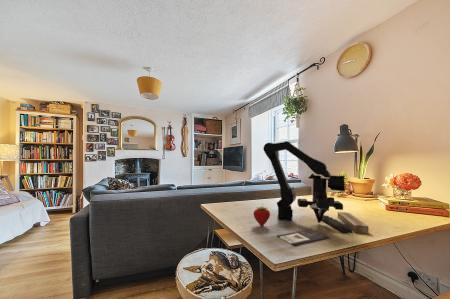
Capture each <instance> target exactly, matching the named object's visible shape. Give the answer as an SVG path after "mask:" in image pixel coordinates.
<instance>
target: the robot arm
mask: <svg viewBox="0 0 450 299" xmlns="http://www.w3.org/2000/svg"><path fill="white" fill-rule="evenodd" d="M263 151H264V153H265V156H266V157H267V158H268V159H269V161H270V162H271V165H272V168H273V171H274V174H275V176H276V179H277V182H278V186H279V188H280V189H279V192H280V199H279V200H278V201H277V202H276V204H277V205H276V206H277V220H280V221H293V216H294V212H293V209H292V204H293V203H294V202H295V201H296V200H297V206H298V207H299V208H307V207H308V206H309V208H310V209H311V210H312V211H313V212H314V215H315V218H316V221H317V223H319V224H320V223H321V222H322V221H323V220H322V217H323V215H325V213H326V212H327V211H330V207H332V208H334V209H335V210H338V211H344V205H343V203H342V202H340V201H338V200H335V198H334V197H331V196H330V197H328V193H327V188H328V189H330V190H331V191H337V192H345V190H346V182H345V175H333V174H331V173H330V171H329V170H328V167H327V164H326V163H325V162H323V161H321V160H319V159H316V158H314V157H312V156H310V155H308V154H307V153H305V152H304V151H303V150H301V149H300V148H298V147H296V146H295V145H294V144H292V143H291V142H290V141H287V140H286V141H282V142H275V143H273V142H266V143H265V144H264V146H263ZM280 151H287V152H289V153H290V154H291V155H292V156H295V157H296V158H297V159H299V160H300V161H301V162H303V163H305V164H306V166H307V167H308V168H309V169H310V170H311V172H313V173H311V175H310V176H308V177H307V178H308V179H310V180H312V201H311V200H308V199H306V198H298V199H297V193H296V190H295V187H294V186H292V187H291V186H290V184H289V182H288V178H287V177H286V174H285V171H284V168H283V166H282V164H281V161H280V153H279V152H280Z"/></svg>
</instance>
